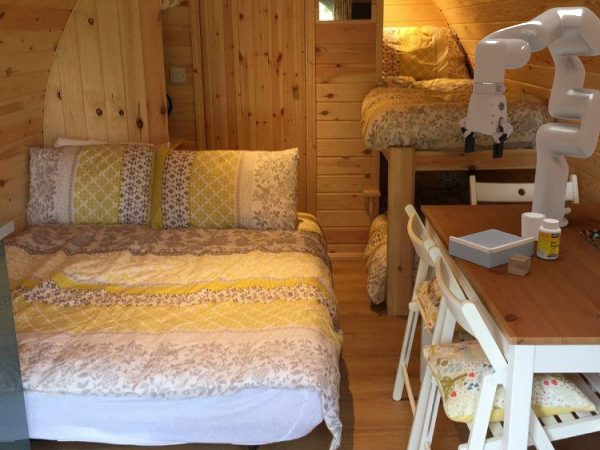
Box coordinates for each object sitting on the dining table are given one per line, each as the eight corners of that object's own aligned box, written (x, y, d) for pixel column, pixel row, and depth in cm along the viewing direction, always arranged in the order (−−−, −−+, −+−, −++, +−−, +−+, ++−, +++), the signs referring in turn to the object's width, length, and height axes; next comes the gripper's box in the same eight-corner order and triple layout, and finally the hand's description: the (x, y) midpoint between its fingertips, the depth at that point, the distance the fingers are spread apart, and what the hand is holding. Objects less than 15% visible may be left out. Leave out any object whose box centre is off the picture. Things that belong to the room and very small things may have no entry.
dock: (491, 242, 186) (493, 225, 185) (532, 255, 175) (534, 237, 174) (448, 253, 177) (449, 236, 175) (489, 268, 166) (490, 250, 164)
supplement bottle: (549, 261, 170) (553, 224, 167) (531, 255, 175) (535, 219, 172) (562, 257, 173) (566, 221, 170) (544, 252, 178) (548, 216, 175)
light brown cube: (513, 268, 166) (515, 253, 165) (529, 272, 163) (530, 257, 162) (507, 272, 163) (508, 258, 162) (523, 276, 160) (524, 261, 159)
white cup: (515, 237, 190) (517, 215, 188) (525, 232, 195) (527, 210, 193) (538, 242, 186) (540, 219, 184) (547, 237, 190) (550, 214, 188)
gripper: (525, 91, 161) (518, 158, 166) (472, 86, 175) (468, 149, 180) (505, 92, 157) (499, 161, 162) (453, 88, 171) (449, 151, 176)
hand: (482, 155), depth 171 cm, fingers open, 9 cm apart
